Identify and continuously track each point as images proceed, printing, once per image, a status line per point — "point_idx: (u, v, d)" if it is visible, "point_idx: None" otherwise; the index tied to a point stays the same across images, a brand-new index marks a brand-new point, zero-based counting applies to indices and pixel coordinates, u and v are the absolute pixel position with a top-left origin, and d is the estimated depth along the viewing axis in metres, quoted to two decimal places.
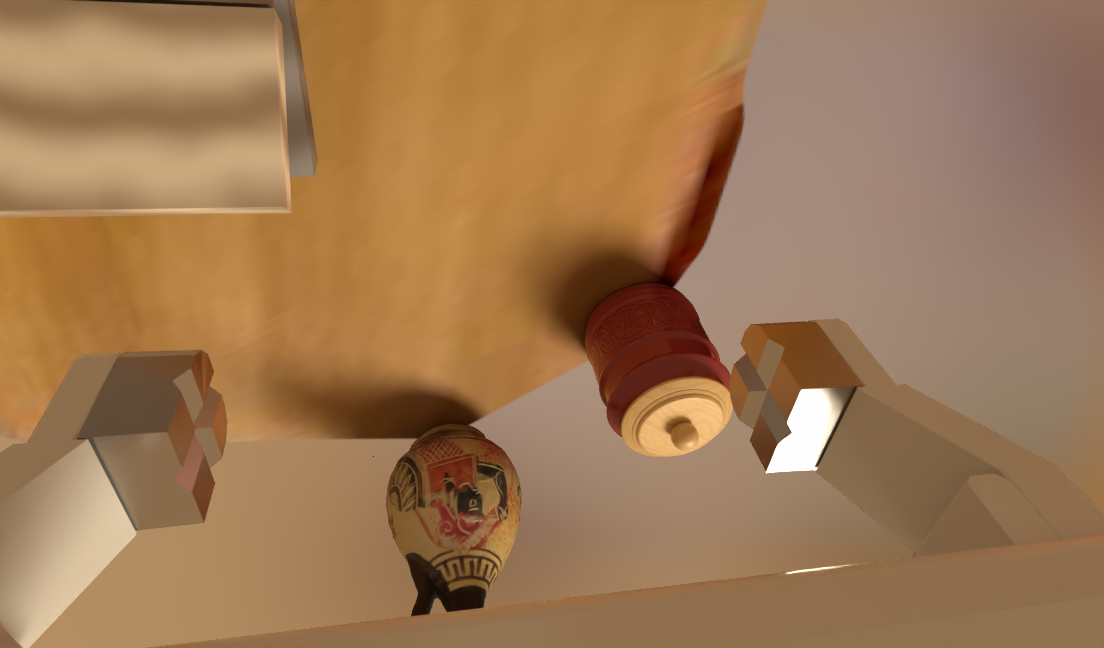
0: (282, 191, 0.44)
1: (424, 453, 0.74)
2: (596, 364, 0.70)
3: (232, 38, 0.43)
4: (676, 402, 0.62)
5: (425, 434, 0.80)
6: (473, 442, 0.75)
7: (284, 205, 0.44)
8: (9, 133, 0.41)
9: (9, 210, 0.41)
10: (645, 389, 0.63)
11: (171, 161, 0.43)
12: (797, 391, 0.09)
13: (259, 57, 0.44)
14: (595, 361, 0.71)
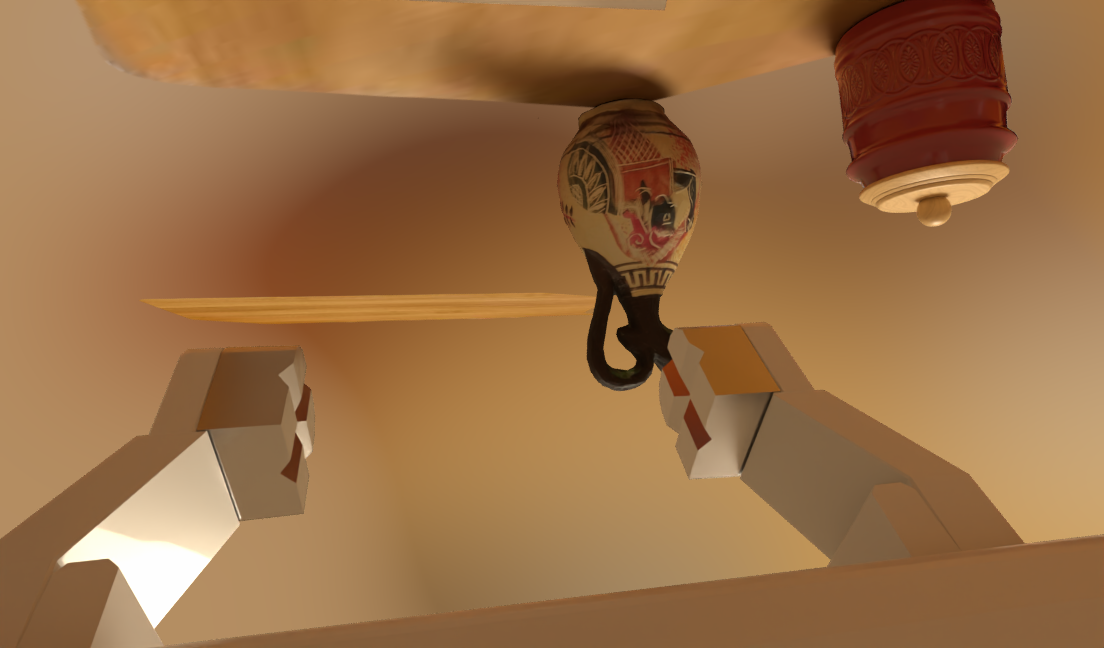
0: None
1: (617, 149, 0.65)
2: (855, 93, 0.57)
3: None
4: (952, 185, 0.54)
5: (604, 107, 0.70)
6: (668, 140, 0.66)
7: None
8: None
9: None
10: (921, 161, 0.54)
11: None
12: (713, 397, 0.09)
13: None
14: (855, 88, 0.57)
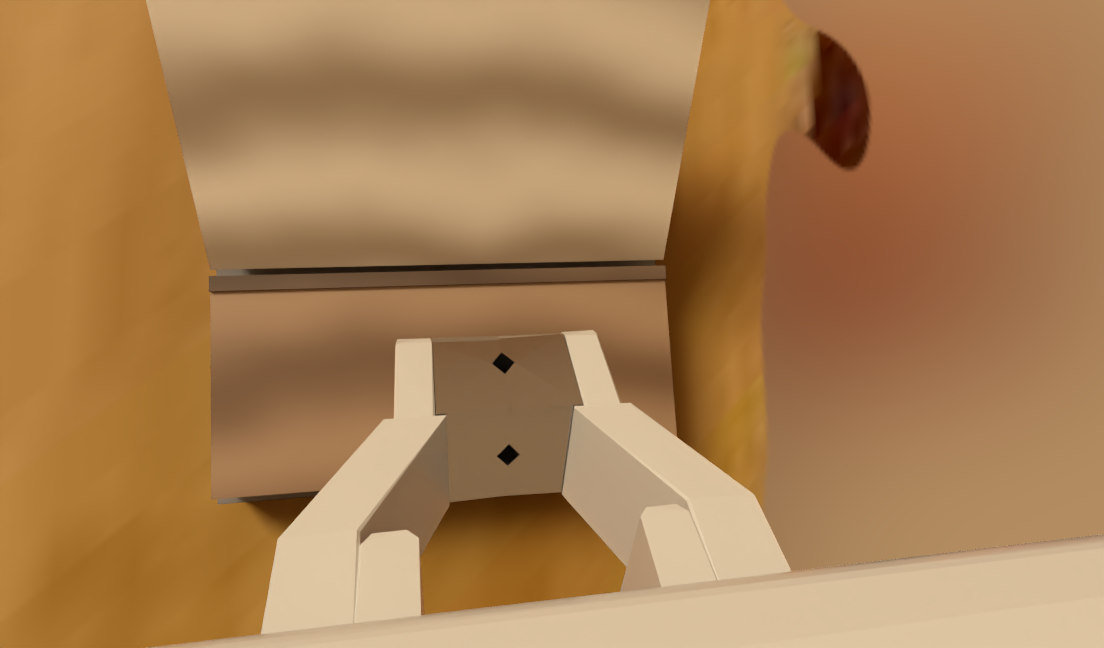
0: None
1: None
2: None
3: (272, 222, 0.26)
4: None
5: None
6: None
7: None
8: (613, 65, 0.25)
9: None
10: None
11: (361, 3, 0.23)
12: (512, 411, 0.09)
13: (222, 193, 0.25)
14: None
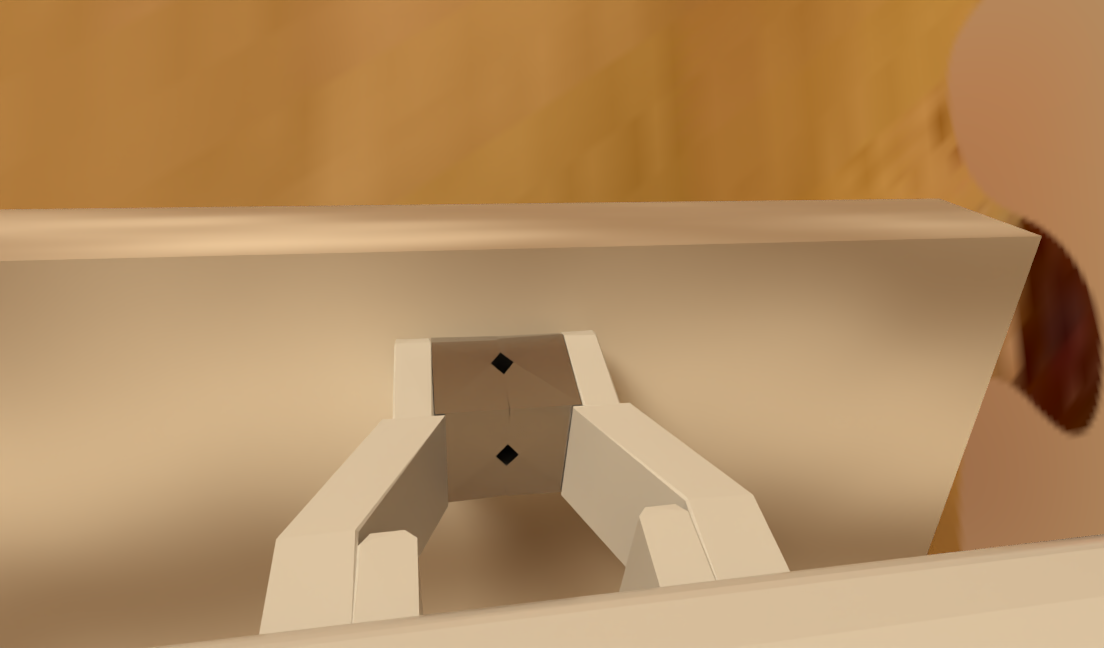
0: None
1: None
2: None
3: None
4: None
5: None
6: None
7: None
8: (808, 476, 0.13)
9: (879, 239, 0.11)
10: None
11: (304, 436, 0.10)
12: (511, 411, 0.09)
13: None
14: None
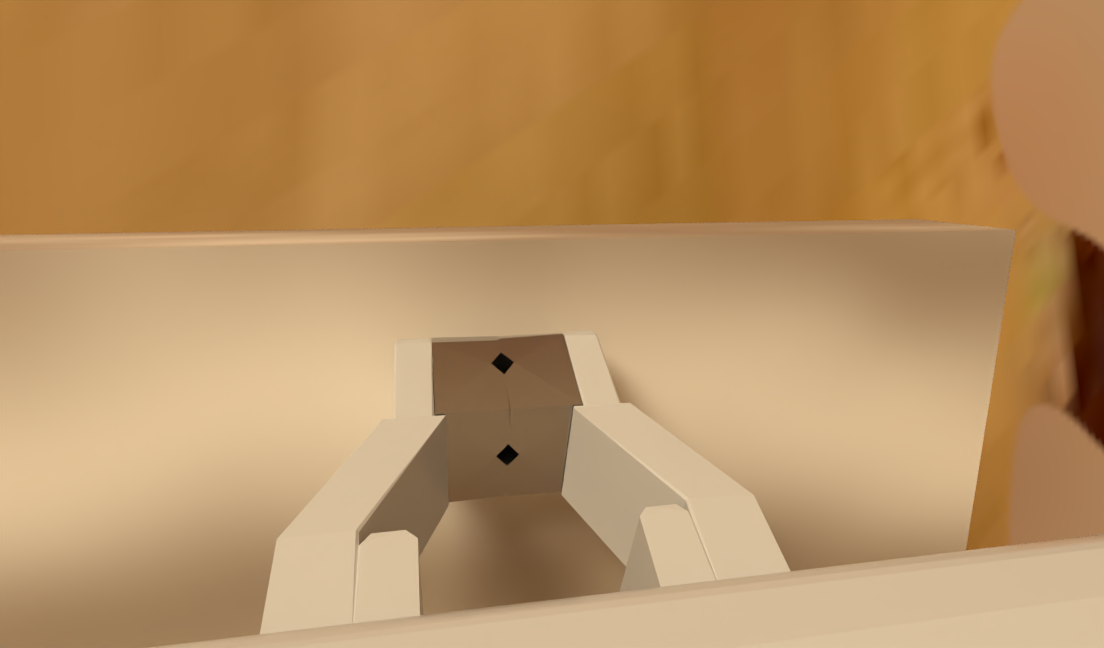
0: None
1: None
2: None
3: None
4: None
5: None
6: None
7: None
8: (822, 489, 0.12)
9: (859, 234, 0.12)
10: None
11: (305, 438, 0.10)
12: (512, 410, 0.09)
13: None
14: None
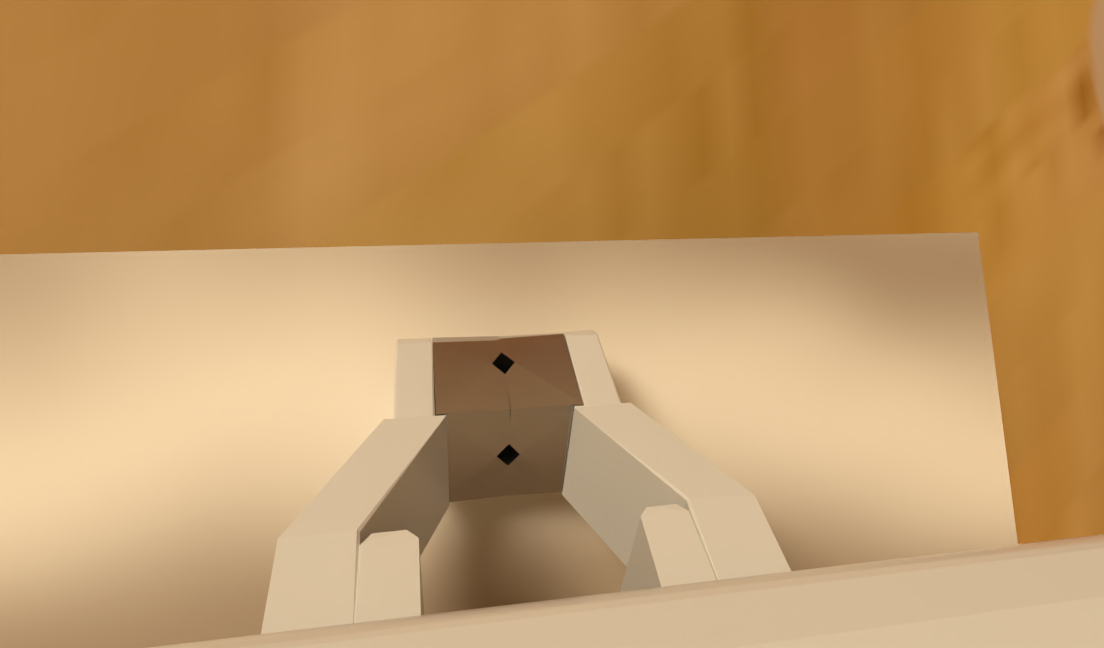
0: None
1: None
2: None
3: None
4: None
5: None
6: None
7: None
8: (846, 500, 0.12)
9: None
10: None
11: (304, 440, 0.10)
12: (512, 410, 0.09)
13: None
14: None
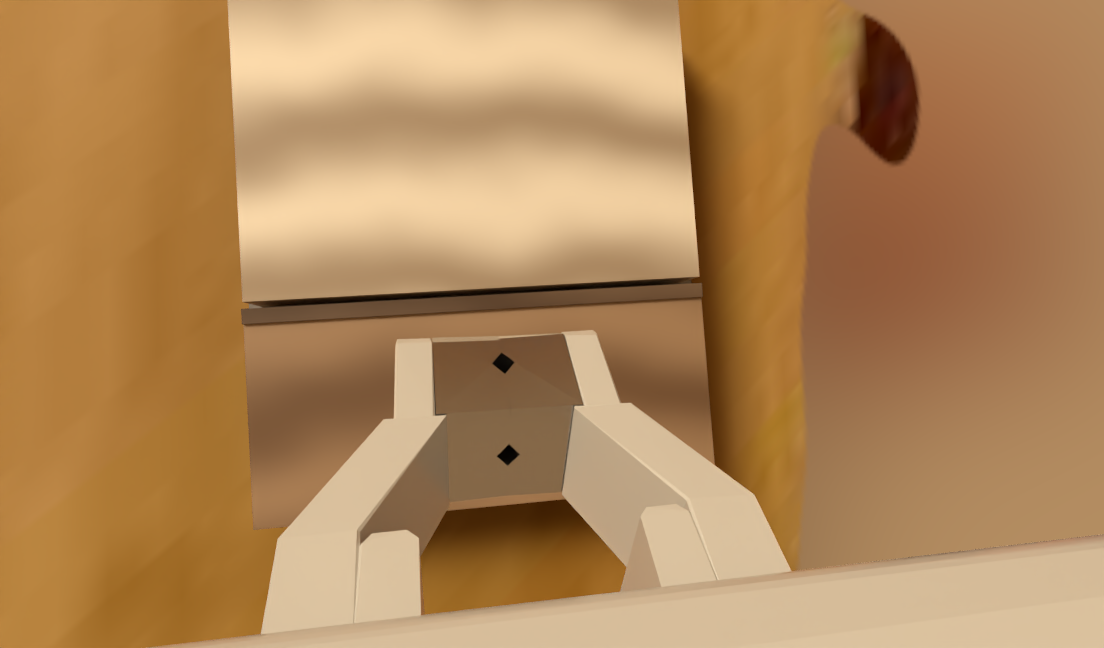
0: (230, 9, 0.27)
1: None
2: None
3: (308, 248, 0.27)
4: None
5: None
6: None
7: None
8: (611, 91, 0.29)
9: None
10: None
11: (398, 55, 0.28)
12: (512, 411, 0.09)
13: (266, 220, 0.27)
14: None
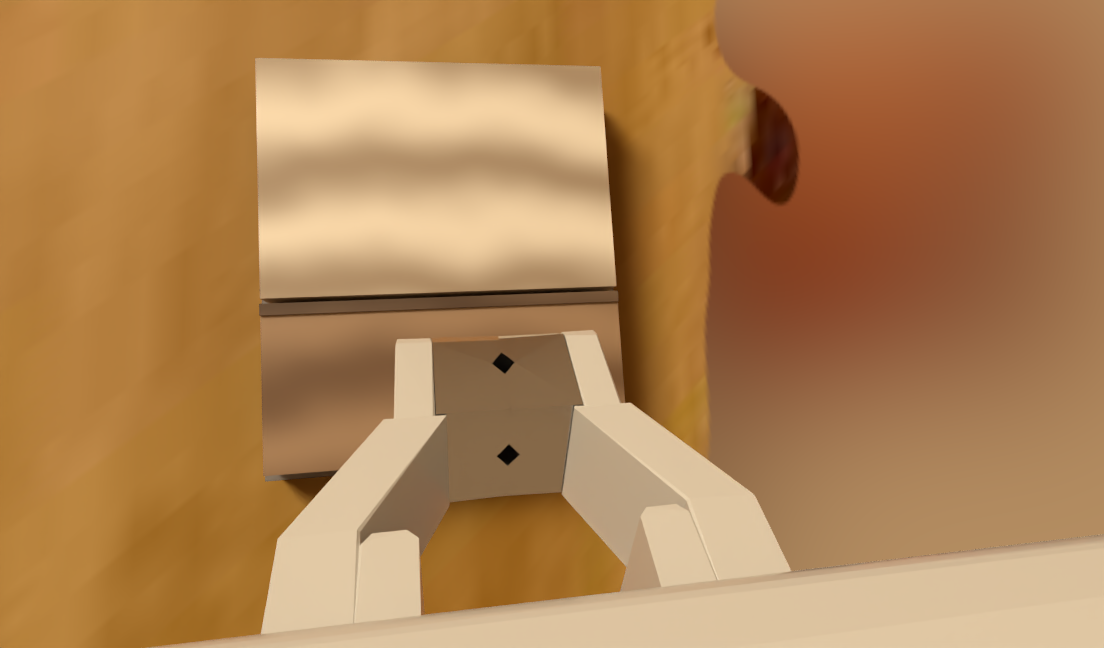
0: (257, 76, 0.36)
1: None
2: None
3: (312, 258, 0.35)
4: None
5: None
6: None
7: None
8: (549, 144, 0.38)
9: (549, 66, 0.39)
10: None
11: (385, 113, 0.37)
12: (512, 411, 0.09)
13: (280, 236, 0.35)
14: None
